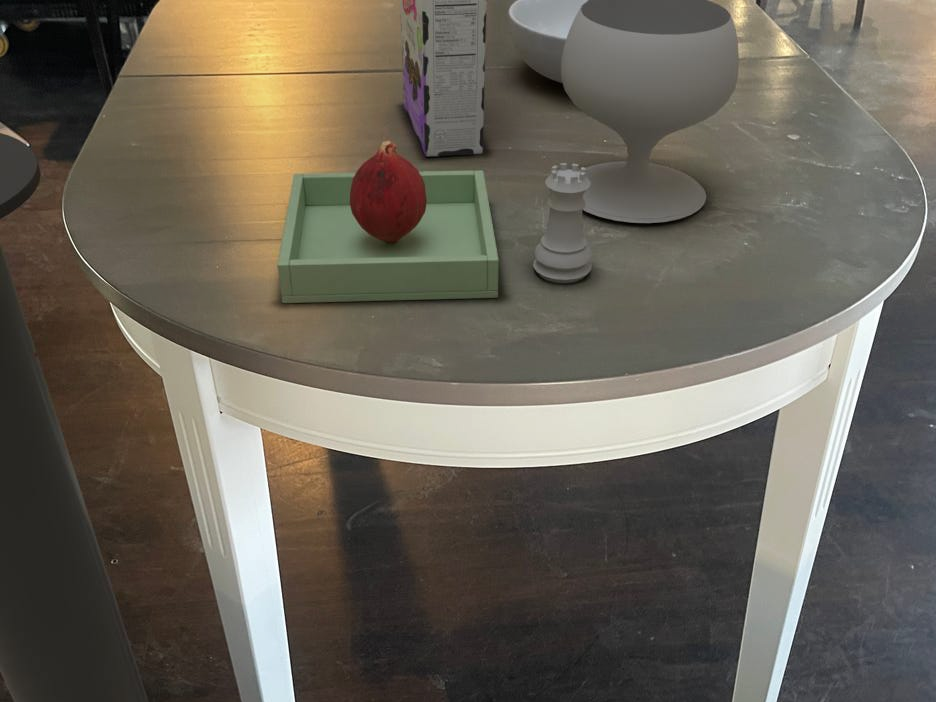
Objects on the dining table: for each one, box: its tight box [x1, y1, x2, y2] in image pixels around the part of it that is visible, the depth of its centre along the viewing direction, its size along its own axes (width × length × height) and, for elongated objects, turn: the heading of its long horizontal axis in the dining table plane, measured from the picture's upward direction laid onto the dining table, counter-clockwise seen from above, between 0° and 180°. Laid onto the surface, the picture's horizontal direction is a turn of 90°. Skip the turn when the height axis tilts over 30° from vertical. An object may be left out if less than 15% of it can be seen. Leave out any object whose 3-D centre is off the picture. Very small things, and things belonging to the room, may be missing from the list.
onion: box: [350, 140, 427, 244], centre depth 76 cm, size 6×6×8 cm
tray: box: [277, 170, 500, 304], centre depth 78 cm, size 16×16×3 cm
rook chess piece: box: [532, 162, 592, 284], centre depth 75 cm, size 4×4×8 cm
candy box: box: [399, 0, 488, 158], centre depth 94 cm, size 14×6×16 cm, turn 12°
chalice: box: [561, 0, 740, 224], centre depth 83 cm, size 14×14×15 cm
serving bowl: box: [507, 0, 589, 84], centre depth 108 cm, size 21×21×7 cm
